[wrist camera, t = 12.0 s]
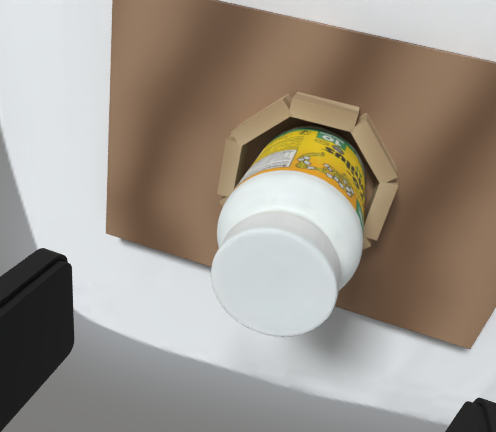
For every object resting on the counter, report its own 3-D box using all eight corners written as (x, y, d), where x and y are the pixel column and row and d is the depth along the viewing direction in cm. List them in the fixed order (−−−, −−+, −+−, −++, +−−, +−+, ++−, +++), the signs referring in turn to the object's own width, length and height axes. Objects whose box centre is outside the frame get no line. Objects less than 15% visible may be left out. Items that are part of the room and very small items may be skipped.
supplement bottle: (240, 150, 22) (157, 239, 13) (339, 104, 20) (313, 177, 11) (286, 238, 23) (237, 367, 15) (383, 204, 21) (389, 334, 13)
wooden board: (610, 87, 18) (646, 100, 15) (466, 334, 24) (475, 369, 22) (126, -20, 21) (94, -24, 18) (116, 224, 27) (91, 245, 25)
